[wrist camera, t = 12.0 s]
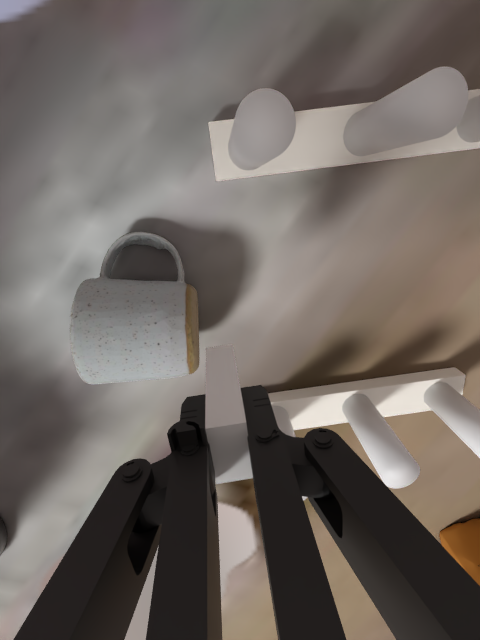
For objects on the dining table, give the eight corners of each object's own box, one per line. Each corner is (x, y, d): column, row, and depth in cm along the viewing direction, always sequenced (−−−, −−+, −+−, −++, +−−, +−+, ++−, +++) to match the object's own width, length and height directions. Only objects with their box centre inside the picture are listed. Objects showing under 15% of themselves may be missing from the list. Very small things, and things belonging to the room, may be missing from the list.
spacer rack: (248, 425, 33) (260, 512, 24) (208, 126, 22) (203, 84, 14) (450, 397, 33) (535, 471, 24) (498, 90, 23) (674, 27, 14)
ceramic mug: (203, 350, 29) (199, 400, 22) (111, 353, 28) (76, 405, 21) (197, 230, 25) (190, 242, 18) (91, 231, 25) (40, 244, 18)
